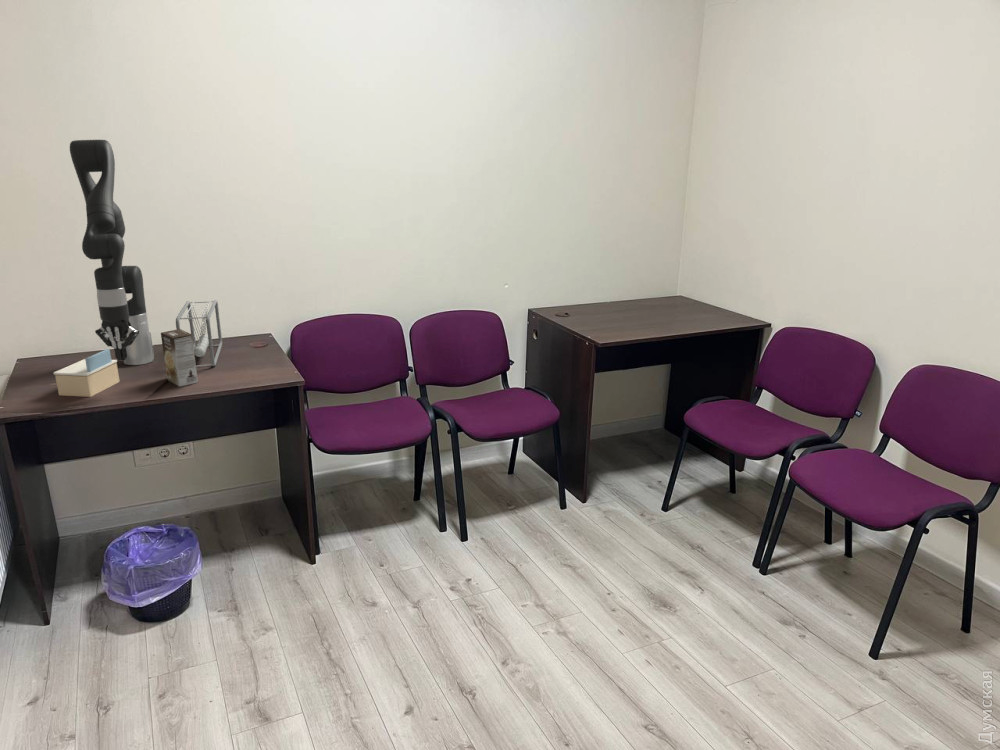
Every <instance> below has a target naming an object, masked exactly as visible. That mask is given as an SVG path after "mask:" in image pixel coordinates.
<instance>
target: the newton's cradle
mask: <svg viewBox="0 0 1000 750" xmlns="http://www.w3.org/2000/svg"><path fill="white" fill-rule="evenodd" d="M205 303H207V304H206V306H205V308H204V309H202V311H203V314H198V315H197V312H196V309H198V308H200V309H201V308H203V307H200V306H198V304H205ZM211 303H212V304H211ZM196 304H197V305H196ZM210 304H211V306H210ZM195 306H197V307H196V309H195ZM209 306H210V308H209ZM208 308H209V311H208ZM186 310H187V312H186V313H185V311H186ZM214 310H215V311H214ZM219 310H220V309H219V303H218V301H217V299H215V300H210V301H191V302H190V301H189V300H187V301H186V302H185V303H184V305H183V307H182V308H181V309H180V311H179V312H178V315H177V316H176V317H175V328H176V329H175V330H177V329H181V325H180V324H181V323H180V320H188V322H189V328H190V329H189V330H190V334H192V338H193V346H194V355H195V356H196V357H198V358H202V357H204V356H205V355H206V352H207V349H208V348H209V356H210V363H211V364H200V365H198V364H197V365H196V368H197V367H209V366H211V367H213V366H215V367H216V365H217V362H218V359H219V356H220V353H221V350H222V347H223V338H222V329H221V321H220V312H219ZM213 312H215V318H216V327H217V335H218V336H217V337H218V344H213V338H212V337H213V336H212V328H211V317H212V314H213ZM194 313H195V314H194ZM184 314H185V315H184ZM183 315H184V317H182V316H183ZM195 316H196V317H195ZM198 316H199V317H198ZM199 319H201V321H205V324H204V325H200V322H199ZM199 328H200V329H199ZM206 330H207V331H206ZM196 331H197V333H196ZM204 332H207V333H204ZM195 335H196V337H195ZM214 347H217V349H216V353H214ZM214 354H215V355H214Z"/></svg>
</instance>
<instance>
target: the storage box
mask: <svg viewBox="0 0 1000 750" xmlns="http://www.w3.org/2000/svg"><path fill="white" fill-rule="evenodd" d="M118 369H119V368H118V363H117V362H116V363H114V364H112V365H109V366H107V367H105V368H103V369H101V370H99V371H97V372H95V373H92V374H90V375H88V376H75V375H54V377H55V381H56V382H55V383H56V386H57V387H56V388H57V391H58V396H69V397H88V398H89V397H91V398H92V397H93V396H95V395H97V394H99V393H101V392H103V391H105V390H107V389H108V388H110V387H112V386H114V385H116V384H118V383H120V382H121V381H120V377H119V370H118Z"/></svg>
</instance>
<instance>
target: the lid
mask: <svg viewBox="0 0 1000 750" xmlns="http://www.w3.org/2000/svg"><path fill="white" fill-rule="evenodd" d="M117 362H118V360H117V359H112V356H111V350H110V349H109V348H108V349H104V350H102V351H100V352H97V353H95V354H92V355H90V356H88V357H86V358H83V359H82V360H78V361H77V362H75V363H72V364H70V365H68V366H66V367H63V368H61V369H57V370H56V371H54V372H53V375H54V376H55V375H75V376H88V375H90V374H92V373H95V372H97V371H99V370H101V369H103V368H105V367H107V366H109V365H112V364H114V363H117Z"/></svg>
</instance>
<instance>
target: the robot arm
mask: <svg viewBox="0 0 1000 750" xmlns="http://www.w3.org/2000/svg"><path fill="white" fill-rule="evenodd" d="M69 153H70V158H71V161H72V164H73V167H74V169H75V173H76V176H77V178H78V179H77V180H78V182H79V185H80V187H81V190H82V191H81V192H82V194H83V197H84V201H85V210H86V222H87V223H86V229H85V232H84V236H83V239H82V243H81V248H82V249H81V250H82V252H83V254H84V256H85V257H87V258H88V259H89V260H100V262H101V267H97V268H96V269H94V271H93V274H94V275H93V276H94V281H95V287H96V299H97V300H96V301H97V304H98V311H99V317H100V320H101V324H100V325H101V326H100V327H99V328H97V329H96V330H95V334H96V335H97V336H98V338H100V340H101V341H102V342H103V343H105V345H106V346H107V347H111V348H112V349H113V350H114V355H115V358H116V359H115V360H117V362H118V361H119V362H121V361H123V365H125V366H126V365H128V366H139V365H145V364H149V363H151V362H152V363H153V361H154V359H155V353H154V347H153V345H154V344H153V340H152V334H151V331H150V327H149V321H148V315H147V308H146V299H145V291H144V279H143V273H142V270H141V268H140V267H139V266H138V265H123V261H124V260H123V259H124V255H125V254H124V253H125V240H124V239H123V238H124V236H125V233H126V226H125V221H124V217H123V212H122V210H121V209H120V207H119V206H118V204H117V203H116V202H115V201H114V190H115V189H114V188H115V171H116V168H115V167H116V163H115V161H116V160H115V154H114V150H113V147H112V145H111V144H110V141H108V140H106V139H80V140H78V139H77V140H75V139H74V140H72V141H70V143H69ZM99 172H101V175H100V178H99V180H98V181H97V182H95V181H94V179H93V177H92V175H91V173H99ZM128 294H129V295H131V294H132V295H131V298H130V299H127V298H128V297H127V295H128Z"/></svg>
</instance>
